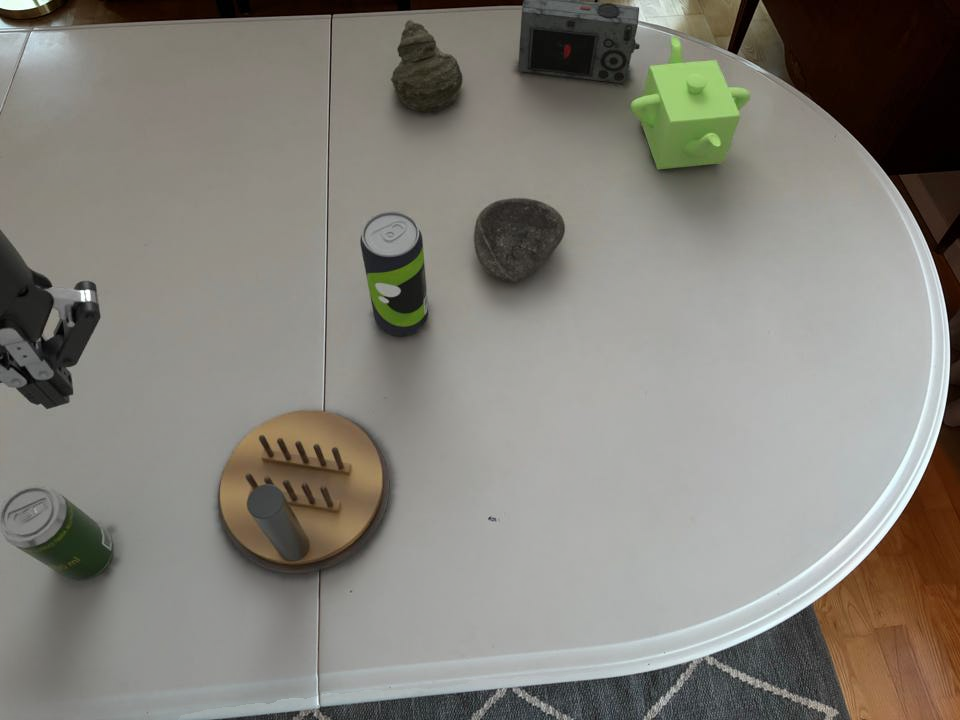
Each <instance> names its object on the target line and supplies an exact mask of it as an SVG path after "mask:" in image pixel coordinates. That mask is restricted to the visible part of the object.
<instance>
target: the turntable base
mask: <svg viewBox="0 0 960 720" xmlns="http://www.w3.org/2000/svg"><path fill="white" fill-rule="evenodd" d="M335 414H336V415H338V416H341V417H343V418H345V419H347V420H349V421H351V422H352V423H354V424H355V425H357V426H358V427H359V428H360V429H361V430H362V431H363V432H364V433H365V434H366V435H367V436H368V437H369V439H370V440H371V441H372V443H373V445H374V446H375V448H376V451H377V453H378V455H379V458H380V462H381V467H382V472H383V491H382V496H381V501H380V504H379V507H378V510H377V512H376V514H375V516H374V518H373V520H372V521H371V523H370V524H369V526H368V527H367V529H366V530H365V531H364V532H363V533H362V535H361V536H360V537H359V538H358V539H357V540H355V541H354V542H353V543H352V544H351V545H349V546H348V547H347V548H345V549H344V550H342V551H341V552H339V553H337V554H335V555H334V556H331V557H329V558H326V559H324V560H321V561H317V562H314V563H308V564H301V565H288V564H279V563H275V562H271V561H268V560H266V559H263V558H261V557H259V556H257V555H255V554H253V553H252V552H250V551H249V550H248V549H246V548H245V547H244V546H243V545H242V544H241V543H240V542H239V541H238V540H237V539H236V537H235V536H234V535H233V534H232V532H231V531H230V529H229V528H228V526H227V523H226V521H225V519H224V516H223V513H222V509H221V503H220V486H221V479H222V476H223V472H224V470H223V471H222V474H221V476H220V480H219V485H218V492H217V507H218V514H219V517H220V521H221V524H222V527H223V529H224V531H225V534H226V536H227V537H228V539H230V541H231V543H232V544H233V545H234V546H235V548H237V550H239V551H240V553H241V554H242V555H243V556H244V557H246V558H247V559H248V560H250V561H251V562H252V563H254V564H256V565H258V566H260V567H262V568H264V569H266V570H269V571H273V572H278V573H281V574H282V573H283V574H291V575H297V574H298V575H301V574H311V573H316V572H319V571H320V572H321V571H323V570H327V569H329V568H331V567H334V566H337V565H338V564H341V563H342V562H345V560H347V559H349V558H350V557H352V556H353V555H355V554H356V553H357V552H358V551H359V550H361V548H362V547H364V545H366V544H367V543H368V541H369V540H370V539H371V538H372V536H374V534H375V532H376V531H377V529H378V528H379V526H380V524H381V523H382V521H383V518H384V516H385V514H386V513H385V512H386V509H387V507H388V503H389V497H390V476H389V471H388V467H387V463H386V459H385V456H384V454H383V451H382V449H381V448H380V447H379V445H378V443H377V441H376V440H375V439H374V438H373V436H372V435H371V434H370V433H369V432H368V431H367V430H366V429H365V428H363V427H362V426H361V425H359V424H358V423H356V422H355V421H353V420H351V419H349V418H347V417H345V416H342V415H339V414H337V413H335Z"/></svg>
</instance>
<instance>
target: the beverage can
mask: <svg viewBox="0 0 960 720" xmlns="http://www.w3.org/2000/svg"><path fill="white" fill-rule="evenodd" d="M359 242H360V243H359V244H360V250H361V255H362V260H363V265H364V271H365V275H366V280H367V281H366V282H367V286H368V290H369V297H370V302H371V303H370V304H371V307H372V313H373V318H374V321H375V323H376V325H377V327H378V328H379V329H380V330H381V331H383V332H385V333H387V334H388V335H392V336H397V337H398V336H399V337H403V336H408V335H412V334H414V333H416V332H418V331H419V330H420V329H422V327H423V326H424V325H425V324H426V322H427V320H428V318H429V304H428V303H429V302H428V292H427V280H426V266H425V253H424V242H423V234H422V231H421V230H420V228H419V226H418V223H417V221H416V220H415V219H414V218H413V217H411V215H409V214H406V213H404V212H401V211H396V210H388V211H382V212H379V213H377V214H374V215H373V216H371V217H370V218H368V220H367V221H366V222H365V223H364V225H363V227H362V229H361V235H360V240H359Z"/></svg>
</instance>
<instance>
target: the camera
mask: <svg viewBox="0 0 960 720" xmlns="http://www.w3.org/2000/svg"><path fill="white" fill-rule="evenodd" d="M639 16H640V7H639V6H632V5H623V4H615V3H610V2H597V1H590V0H589V1H587V0H523V3H522V7H521V16H520V17H521V19H520V31H519V32H520V33H519V34H520V35H519V49H518V65H517V72H520V73H521V72H522V73H529V74H539V75H548V76H555V77H565V78H573V79H582V80H590V81H598V82H599V81H600V82H608V83H614V84H615V83H616V84H626V82H627V78H628V75H629V74H628V73H629V68H630V63H631V59H632V55H633V53H634V51H635V50H639V49H640V48H641V45H640V44H639V43H637V41H636V36H637V31H638V25H639V19H640V17H639Z"/></svg>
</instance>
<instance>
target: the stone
mask: <svg viewBox="0 0 960 720" xmlns="http://www.w3.org/2000/svg"><path fill="white" fill-rule="evenodd" d="M565 224H566V223H565V221H564V218H563V217H562V215H561V214H560V212H559V211H558V210H557V209H556V208H554V207H553V206H551V205H549V204H548V203H545V202H542V201H540V200H537V199H532V198H526V197H525V198H524V197H513V198H512V197H511V198H504V199H500V200H496V201H494V202H492V203H490V204H488V205H487V206H486V207H484V208H483V209H482V210H481V211H480V212H479V214H478V216H477V218H476V220H475V225H474V231H473V245H474V251H475V255H476V257H477V260H478V261H479V263H480V265H481V266H482V267H483V269H484V270H485V271H486V272H487V273H488V274H490V275H491V276H493V277H495V278H497V279H498V280H502V281H505V282H509V283H510V282H511V283H519V282H522V281H524V280H526V279H527V278H529V277H530V276H532V275H533V274H534V273H535V272H536V271H538V270H539V269H540V268H541V267H542V266H543V265H544V264H545V262H546V261H547V260H549V258H550V257H551V255H552V254H553V252H554V251H555V250H556V249H557V247H558V246H559V245H560V243H561V242H562V240H563V238H564V235H565V230H566V225H565Z"/></svg>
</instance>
